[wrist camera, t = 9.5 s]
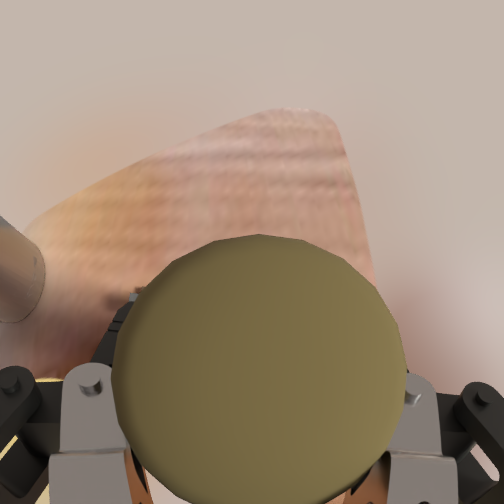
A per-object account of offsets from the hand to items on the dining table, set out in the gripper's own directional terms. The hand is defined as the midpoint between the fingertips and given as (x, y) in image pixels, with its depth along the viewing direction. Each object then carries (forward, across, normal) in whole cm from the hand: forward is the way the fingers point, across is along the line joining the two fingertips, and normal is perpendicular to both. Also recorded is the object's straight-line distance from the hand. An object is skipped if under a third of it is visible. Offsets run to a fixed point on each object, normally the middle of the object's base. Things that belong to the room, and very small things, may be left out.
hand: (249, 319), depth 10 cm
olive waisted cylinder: (+2, 0, +5) cm, 6 cm away
